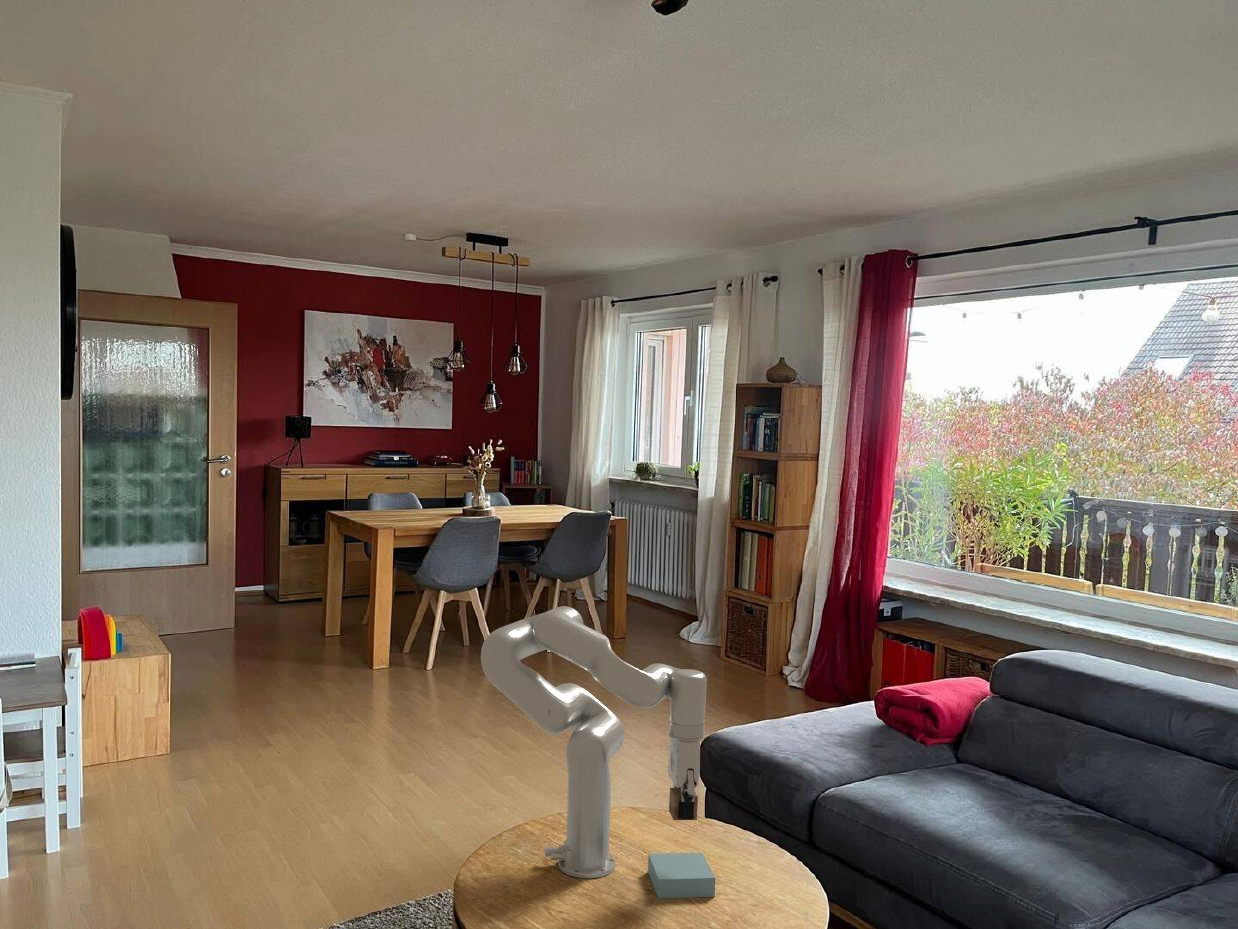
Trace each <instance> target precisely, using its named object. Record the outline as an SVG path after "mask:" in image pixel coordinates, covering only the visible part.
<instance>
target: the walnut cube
mask: <svg viewBox="0 0 1238 929" xmlns="http://www.w3.org/2000/svg"><path fill="white" fill-rule="evenodd" d="M685 792H687V789H684V793H685ZM668 799H669V800H668V801H669V802H668V812H669V813H670V816H671V818H672V820H673V821H680V820H679V818H678V810H679V800H681V796H680V788H674V787H669V798H668ZM698 801H699V796H698V794H697V792H696V791H695V794H694V819H693V820H692V821H697V820H698V807H699V806H698V804H699V802H698Z"/></svg>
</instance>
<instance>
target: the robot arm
mask: <svg viewBox="0 0 1238 929" xmlns="http://www.w3.org/2000/svg"><path fill="white" fill-rule="evenodd" d="M546 650H548V651H550V652H551V653H554V654H555V655H558V656H559V657H561V658H563V659H565V660H567V661H569V662H571V663H572V664H574V665H576V666H578V667H580V668H582V669H584V671H585V670H586V671H587V672H588V673H589V674H590V675H591V676H592V678H594V680H595V681H596V682H598V683H599V685H600V686H601V687H602V688H604V689H605V690H606V691H607V692H608V693H610V694H611V695H614V696H615V697H617V698H619V699H621V700H622V701H624V702H627V703H628V704H631V705H633V706H635V707H638V708H642V709H650V708H653V707H656V706H657V705H659V704H660V703H661V702H662V701H663V700H667V699H669V700H670V701H669V723H668V736H669V738H670V743H669V754H668V765H667V766H668V767H667V773H668V776H669V778H670V780H671V781H672V783H673V788H680V796H681V800H679V810H678V818H679V820H678V821H694V820H693V819H694V794H695V792H696V788H698V787H699V783H700V772H701V771H700V770H701V765H700V764H701V763H700V762H701V758H700V757H701V744H700V742H701V741H702V740H703V739H705V731H706V730H705V727H706V726H705V723H706V709H707V708H706V706H707V702H706V701H707V688H708V687H707V685H708V684H707V682H708V680H707V676H706V674H705V673H704V672H702V671H700V670H697V669H688V668H683V669H681V668H677V667H674V666H671V665H667V664H665V663H658V662H657V663H651V664H649V665H648V666H646V667H645V668H643V669H642V670H641V669H639V668H637V667H636V666H633V665H631V664H629V663H627V662H626V661H624V660H622V659H621V658H620V657H619V656H618V655H616V653H615V652H614V651H613V649H612V646H611V642H610V640H609V637H607V635H605V634H603V633H600V632H599V631H597V630H595V629H593V628H591V627H588V626H586V625H585V624H584V619H583V617H582V615H581V613H579V611H577V610H576V609H575V608H573V607H571V606H565V605H563V606H557V607H555V608H552V609H549V610H547V611H545V612H542V613H539V614H536V615H532V616H530V617H529V616H528V617H526V618H523V619H520V620H517V621H515V622H512V623H509V624H507V625H504V626H501V627H499V628H497V629H495V630H493V631H492V632H491V633H489V635H487V636H486V638H485V639H484V642H483V643H482V646H481V652H480V663H481V668H482V670H483V673H484V675H485V677H486V678H487V680H488V681H489V682H490V683H491V684H492V686H493V687H494V688H496V689H497V690H498V691H499V692H500V693H501V694H503V696H505V697H506V698H507V699H509V700H510V702H512V703H513V704H514V705H515V706H516V707H517V708H518V709H520V710H521V711H522V712H523V714H525V715H526V716H528V718H530V719H531V720H532V721H533V722H534V723H535V724H536V725H537V726H539V727H540V729H542V730H543V731H544V732H546V733H547V734H550V735H552V736H555V735H561V734H563V733H565V732H567V731H568V730H569V729H571V730H572V733H571V734H570V736H569V738H568V741H567V744H566V749H565V756H566V765H567V766H566V767H567V807H566V808H567V811H566V812H567V813H566V815H567V816H566V834H565V837H566V840H563V844H562V845H561V844H560V845H558V846H556V847H555V846H545V847H544V857H550V860H551V861H558V863H557V864H558V868H559V870H560V871H561V872H563V873H564V874H566V875H568V876H571V877H574V878H578V879H597V878H603V877H605V876H608V875H610V874H611V873H612V872H614V871H615V868H616V859H615V857H614V856H612V854H610V852H609V851H610V831H611V830H610V828H611V827H610V826H611V799H612V778H611V772H610V771H611V770H610V759H612V758H613V756H615V755H616V753H617V752H619V751H620V750H621V749H622V747H623V745H624V744H625V739H626V731H625V727H624V725H623V723H622V721H621V720H620V719H619V717H618V716H617V715H616V714H615V713H614V712H612V711H611V710H610V709H609V708H608V707H606V706H605V705H604V704H603V703H602V702H601V701H600V700H598V699H597V697H595V696H594V695H593V694H591V693H590V692H589V691H588V690H587V689H585V688H584V687H582V686H580V685H578V684H576V683H572V682H571V683H570V682H568V683H566V682H565V683H560V684H558V685H557V686H554V685H553V684H551V683H550V682H549V681H548V680H547V679H545V678H544V677H543V676H542V675H541V674H540V673H539V672H537V671H536V670H535V669H532V668H530V667H528V666H527V665H525V664H523V663H522V661H521V660H523V659H525V658H527V657H530V656H532V655H535V654H537V653H540V652H543V651H546ZM684 789H687V792H685V793H684Z"/></svg>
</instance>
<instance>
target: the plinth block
mask: <svg viewBox="0 0 1238 929" xmlns="http://www.w3.org/2000/svg"><path fill="white" fill-rule="evenodd" d="M647 861H648V862H647V873H648V874H647V875H648V876H649V879H650V881H651V883H652V884H651V885H652V887H653V889H654V891H655V894H656V897H657V899H658V900H659V899H661V900H662V899H681V898H682V899H688V898H693V899H694V898H695V899H696V898H715V897H716V896H715V895H716V876H715V875H714V872H713V870H712V868H711V867H710V865H709V863H708V861H707V858H706V857H705V855H704V853H703V852H672V853H671V852H670V853H665V852H664V853H648V860H647Z"/></svg>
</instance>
